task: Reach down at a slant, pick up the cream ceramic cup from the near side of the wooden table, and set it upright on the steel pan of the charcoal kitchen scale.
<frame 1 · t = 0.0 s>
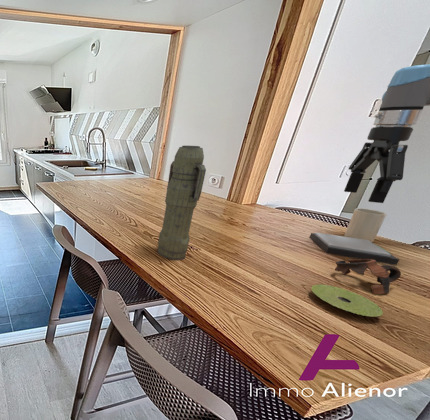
hand: (361, 196, 77), 20 cm above the table, tool pointing down, fingers open, 13 cm apart
kitchen scale: (348, 249, 85), on the table
green disc: (341, 305, 58), on the table
cup: (358, 238, 95), on the table
brown branching piece: (363, 284, 66), on the table
thermos: (170, 253, 82), on the table
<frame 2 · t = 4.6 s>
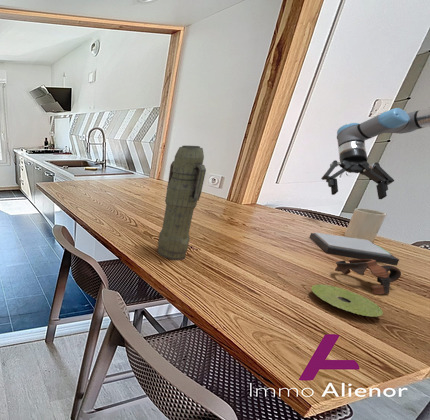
hand: (358, 195, 99), 15 cm above the table, tool tilted 45°, fingers open, 13 cm apart
nothing on the table moved.
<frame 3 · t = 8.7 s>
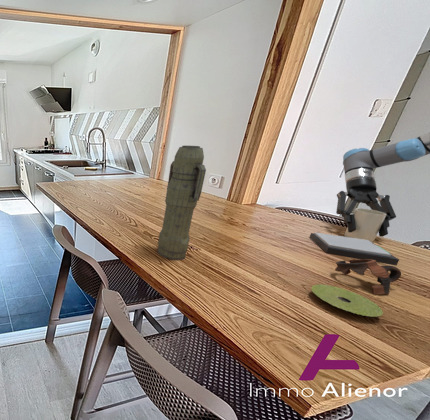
hand: (367, 232, 91), 4 cm above the table, tool tilted 45°, fingers closed on cup, 7 cm apart
cup: (358, 238, 95), on the table, touching gripper
everything else where it was.
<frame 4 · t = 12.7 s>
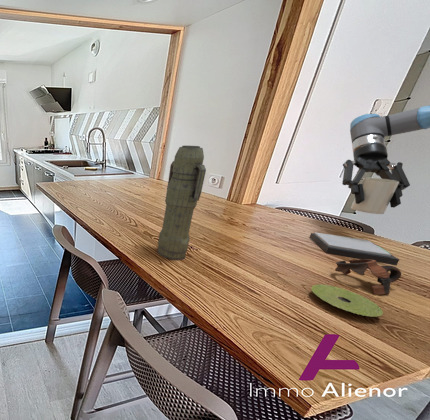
hand: (377, 203, 81), 17 cm above the table, tool tilted 45°, fingers closed on cup, 7 cm apart
cup: (366, 210, 85), point 13 cm above the table, touching gripper
everything else where it was.
when the fingers open (6 cm above the table, at t = 17.0 s): cup stays where it is, resting on kitchen scale.
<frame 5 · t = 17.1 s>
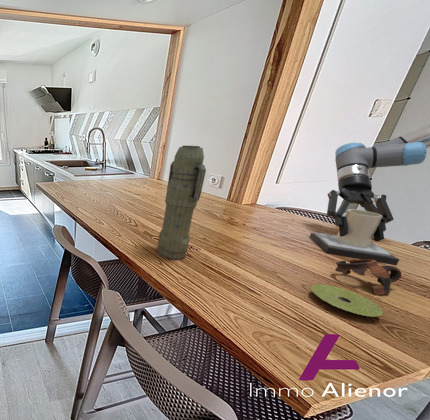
hand: (361, 237, 80), 6 cm above the table, tool tilted 45°, fingers open, 7 cm apart
cup: (351, 242, 84), point 3 cm above the table, touching kitchen scale
everything else where it was.
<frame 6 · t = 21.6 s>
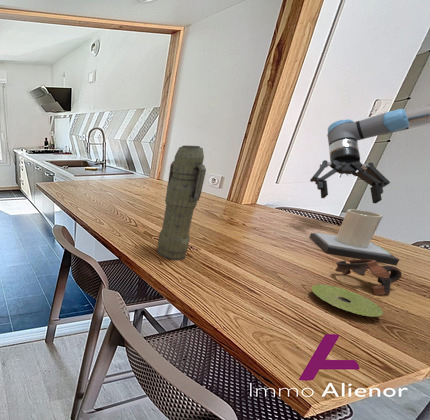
hand: (350, 199, 89), 16 cm above the table, tool tilted 45°, fingers open, 13 cm apart
nothing on the table moved.
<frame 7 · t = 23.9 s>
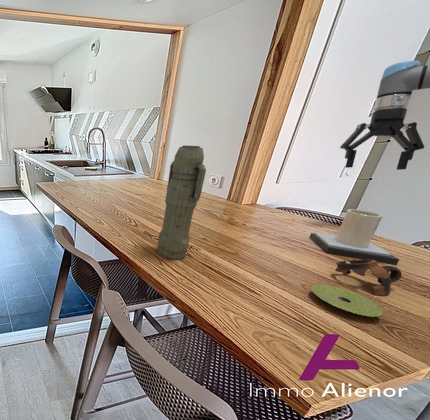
hand: (374, 168, 92), 26 cm above the table, tool pointing down, fingers open, 13 cm apart
nothing on the table moved.
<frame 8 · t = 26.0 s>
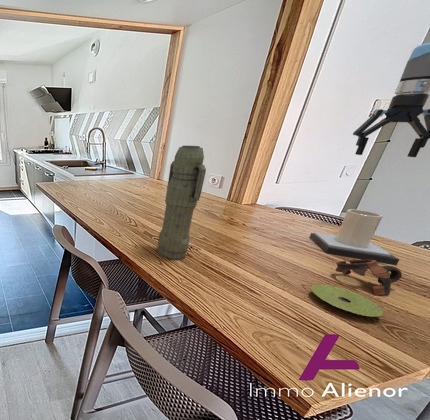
hand: (384, 155, 92), 31 cm above the table, tool pointing down, fingers open, 13 cm apart
nothing on the table moved.
at the end: cup inside the target area (0.1 cm from its centre), point 2.8 cm above the table; cup tilted 0°; the gripper is holding nothing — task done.
